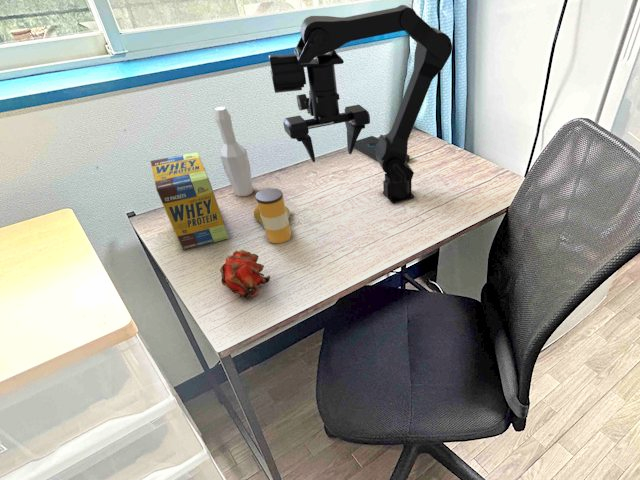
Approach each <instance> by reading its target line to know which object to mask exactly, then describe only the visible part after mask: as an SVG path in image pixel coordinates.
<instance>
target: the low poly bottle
mask: <svg viewBox="0 0 640 480" xmlns="http://www.w3.org/2000/svg"><path fill="white" fill-rule="evenodd" d="M214 113H215V114H214V115H215V117H214V119H215V122H216V124H217V126H218V129H219V132H220V136H221V138H222V141H223V146H222V148H221V151H220V154H219V157H220V160H221V164H222V167H223V170H224V173H225V175H226V177H227V179H228V181H229V183H230V186H231V188H232V191H233V193H234V194H235V196H238V197H248V196H250V195H252V194H253V192H254V184H253V178H252V177H253V176H252V171H251V164H250V159H249V156H248V152H247V149H246V148H245V147H244V146H243V145H242V144H241V143H239V142H238V141H237V138H236V136H235V132H234V128H233V122H232V117H231V114H230V112H229V111H228V110H227V108H226V107H225V106H218V107H216V108H215V109H214Z"/></svg>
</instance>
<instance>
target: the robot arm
mask: <svg viewBox="0 0 640 480" xmlns="http://www.w3.org/2000/svg"><path fill="white" fill-rule="evenodd" d="M399 32H405V33H406V34H407V35H408V36H409V37H410V38H411V39H413V41H415V42H416V46H415V50H414V58H413V70H412V71H413V72H412V74H411V76H410V79H409V82H408V83H407V84H408V85H407V86H406V89H405V92H404V94H403V97H402V100H401V103H400V106H399V108H398V110H397V114H396V116H395V118H394V122H393V123H392V127H391V129H390V131H389V132H388V133H387V134H386V135H383V134H380V135H379V138H378V139H379V142H378V145H377V146H376V147H375V150H376V158H377V160H378V162H377V163H378V164H379V166H380V167H381V169H382V171H383V172H384V180H383V182H382V183H383V184H382V186H383V191H382V194H383V196H385V198H387V200H388V201H390V202H391V204H398V203H400V202H401V203H402V202H405V201H409V200H412V199H415V194H413V193H412V180H413V177H414V173H415V172H414V170H413V169H412V168H411V166H410V165H409V162H406V157H407V154H408V148H409V147H408V145H409V139H410V136H411V133H412V131H413V128H414V126H415V123H416V121H417V119H418V115H419V113H420V111H421V109H422V106H423V103H424V101H425V98H426V96H427V94H428V91H429V90H430V86H431V84H432V81H433V80H434V79H435V77H437V76H438V74H439V73H440V72H441V71H442V70H443V69H444V67H445V65H446V63H448V60H449V58H450V57H451V54H452V51H453V44H452V40H451V38H450V36H449V35H448V34H446V33H445V32H443V31H441V29H437V28H436V27H433V26H430V25H429V24H428V23H427V22H426V21H425V20H424V19H422V18H421V17H420V16H419V15H418V14H417V12H416V11H415V9H414V8H412V7H409V6H408V5H406V4H400V5H398V6H396V7H391V8H385V9H381V10H376V11H372V12H366V13H360V14H356V15H350V16H345V17H343V16H340V17H339V16H331V15H310V16H307V17H305V19H303V21H302V23H301V25H300V38H299V40H298V42H297V44H296V46H295V48H294V50H293V53H290V54H289V53H288V54H269V55H268V60H269V66H270V76H271V82H272V86H273V90H274V94H279V93H287V92H299V91H302V90H303V88H305V85H307V79H308V86H309V91H308V95H309V96H307V94H305V93H301V94H297V95H295V96H296V103H297V108H298V110H299V111H305V110H306V112H307V114H308V115H310V117H313V118H308V119H304V118H303V116H302V115H294V116H290V117H289V116H288V117H285V118H284V120H283V128H284V131H285V133H286V134H287V135H288V136H289V138H290V139H292V140H296V141H297V142H301V143H302V145H303V146H304V148H305V150H306V152H307V154H308V156H309V158H310V160H311V162H312V163H316V156H315V151H314V147H313V146H314V145H313V141H312V137H311V135H310V134H309V133H310V130H311V129H316V128H321V127H322V128H323V127H326V126H331V125H336V124H342V123H344V124H345V128H346V148H347V153H348V154H349V155H352V154H353V151H354V149H355V148H354V146H355V143H356V141H357V140H358V138H359V136H360V134H361V132H362V131H363V130H364V129H366V125H370V123H371V115H370V112H369V111H368V110H367V109H366V108H365V107H363V106H361V105H360V104H353V105H349V106H345V108H344V112H341V113H340V106H339V100H340V94H339V93H338V88H337V78H336V69H335V65H343V64H344V59H343V58H342V56H341V55H339V54H338V53H337V52H336V50H338V49H340V48H341V47H343V46H344V45H346V44H348V43H351V42H353V41H358V40H364V39H369V38H374V37H378V36H384V35H388V34H393V33H399ZM305 68H306V72H307V79H306V72H305Z"/></svg>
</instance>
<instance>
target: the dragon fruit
mask: <svg viewBox="0 0 640 480" xmlns="http://www.w3.org/2000/svg"><path fill="white" fill-rule="evenodd" d="M259 257H260V256H259V255H258V254H256V253H251V252H250V251H246V250H245V249H244V250H243V249H240V250H235V251H233V252H232V255H227V257H226V258H225V262H224V264H222V265H221V267H220V268H219V272H220V275H221V280H220V281H221V284H222V286H223V287H225V288H227V289H228V290H229V291H230V292H232V293H233V294H236V295H238V296H239V297H240V298H242V299H244V300H249V298H248V297H249V296H251V298H252V297H253V298H255V297H256V296H257V295H258V294H259V293H260V290H259V288H258V287H260V286H261V285H265V284H269V282H270V280H271V276H270V275H267V276H265V275H264V274H263V273H261V272H263V270H264V268H265V265H264V264H262V263H259V262H258V260H259Z"/></svg>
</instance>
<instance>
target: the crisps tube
mask: <svg viewBox="0 0 640 480" xmlns="http://www.w3.org/2000/svg"><path fill="white" fill-rule="evenodd" d="M255 200H256V203H257V205H258V206H259V210H260V215H261V218H262V222H263V225H262V226H263V229H264V232H265V236H266V238H267V241H268V243H272V244H283V243H285V242H287V241H289V240H290V239H291V238H292V231H291V227H290V222H289V219H288V216H287V212H286V208H285V206H286V204H285V200H284V192H283V191H282V190H281V189H279V188H277V187H270V188H264V189H262V190H259V191H258V192H257V193H256V194H255Z"/></svg>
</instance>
